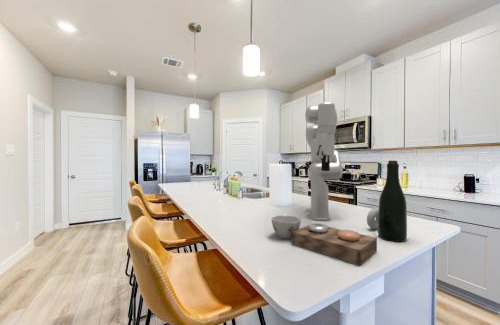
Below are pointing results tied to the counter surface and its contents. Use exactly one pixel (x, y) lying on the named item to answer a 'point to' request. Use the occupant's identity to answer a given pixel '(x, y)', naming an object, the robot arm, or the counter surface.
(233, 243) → the counter surface
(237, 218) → the counter surface
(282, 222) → the teacup
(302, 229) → the block
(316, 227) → the button
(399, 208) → the dark green wine bottle
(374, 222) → the donut
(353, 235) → the button
